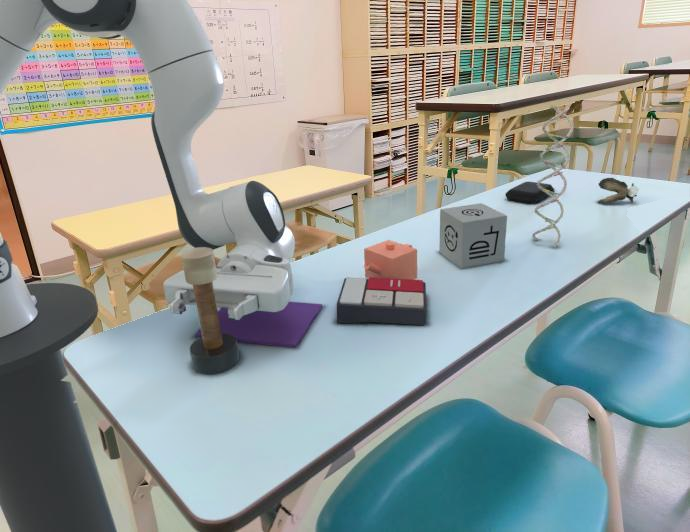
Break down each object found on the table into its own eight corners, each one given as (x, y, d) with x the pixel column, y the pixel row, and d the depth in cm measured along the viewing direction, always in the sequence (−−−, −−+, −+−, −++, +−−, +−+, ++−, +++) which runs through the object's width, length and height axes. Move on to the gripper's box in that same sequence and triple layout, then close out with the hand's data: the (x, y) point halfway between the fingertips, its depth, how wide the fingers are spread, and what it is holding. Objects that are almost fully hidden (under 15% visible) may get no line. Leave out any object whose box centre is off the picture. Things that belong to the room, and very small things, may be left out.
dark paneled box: (426, 305, 85) (336, 300, 87) (425, 328, 87) (336, 323, 88) (425, 277, 95) (344, 273, 97) (424, 298, 97) (344, 294, 98)
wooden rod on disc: (184, 371, 78) (161, 260, 71) (207, 347, 84) (188, 242, 77) (226, 377, 76) (207, 263, 69) (246, 351, 82) (231, 244, 75)
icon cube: (503, 260, 110) (507, 215, 106) (461, 268, 107) (463, 222, 103) (479, 245, 118) (481, 203, 114) (439, 252, 116) (440, 209, 112)
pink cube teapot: (353, 286, 102) (351, 247, 99) (396, 268, 109) (395, 231, 106) (380, 299, 96) (379, 257, 93) (424, 279, 103) (424, 240, 100)
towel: (195, 337, 87) (194, 334, 87) (232, 299, 99) (232, 296, 99) (296, 347, 82) (295, 344, 82) (322, 307, 95) (322, 304, 94)
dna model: (567, 246, 115) (584, 105, 104) (543, 250, 114) (558, 108, 102) (547, 236, 121) (561, 103, 110) (524, 241, 119) (536, 105, 108)
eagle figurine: (626, 192, 146) (594, 187, 147) (639, 175, 140) (606, 170, 141) (629, 213, 142) (596, 208, 143) (643, 196, 136) (609, 191, 137)
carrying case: (538, 206, 143) (559, 194, 153) (539, 195, 142) (560, 183, 152) (502, 200, 150) (524, 189, 160) (503, 190, 148) (525, 179, 158)
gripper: (186, 253, 89) (137, 288, 77) (298, 260, 84) (264, 298, 72) (192, 286, 92) (145, 325, 79) (301, 295, 86) (269, 337, 74)
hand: (203, 312), depth 75 cm, fingers open, 8 cm apart
